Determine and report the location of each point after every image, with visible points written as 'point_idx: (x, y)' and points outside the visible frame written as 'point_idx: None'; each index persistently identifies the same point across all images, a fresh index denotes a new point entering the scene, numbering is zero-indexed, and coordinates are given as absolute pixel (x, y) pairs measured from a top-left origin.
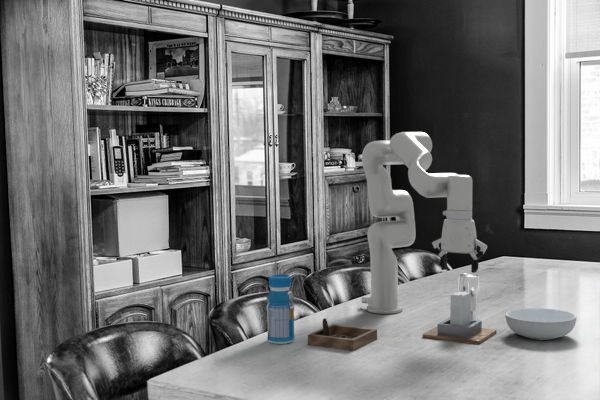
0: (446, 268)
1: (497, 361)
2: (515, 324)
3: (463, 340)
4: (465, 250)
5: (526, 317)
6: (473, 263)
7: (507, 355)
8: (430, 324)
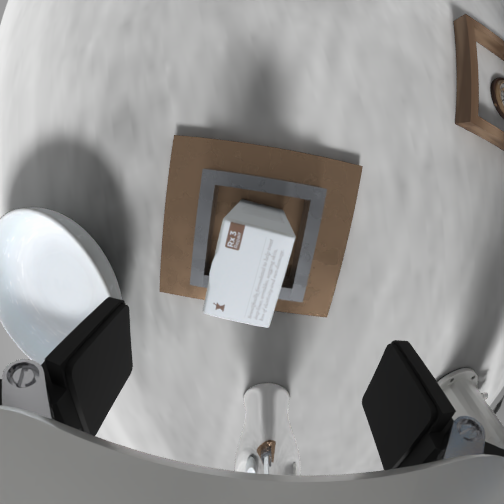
0: (365, 393)
1: (119, 12)
2: (75, 226)
3: (225, 140)
4: (35, 455)
5: None
6: (67, 337)
7: (99, 65)
8: (357, 327)
